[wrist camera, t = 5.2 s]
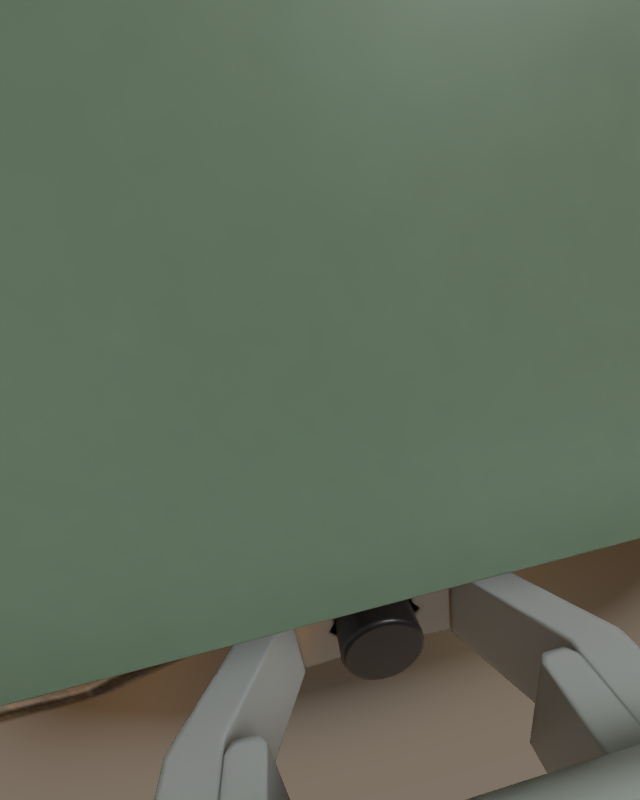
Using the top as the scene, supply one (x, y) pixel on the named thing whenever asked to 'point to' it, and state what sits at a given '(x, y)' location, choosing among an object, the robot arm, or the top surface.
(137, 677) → the top surface
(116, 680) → the top surface
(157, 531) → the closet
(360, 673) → the brown sliding door
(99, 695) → the top surface
